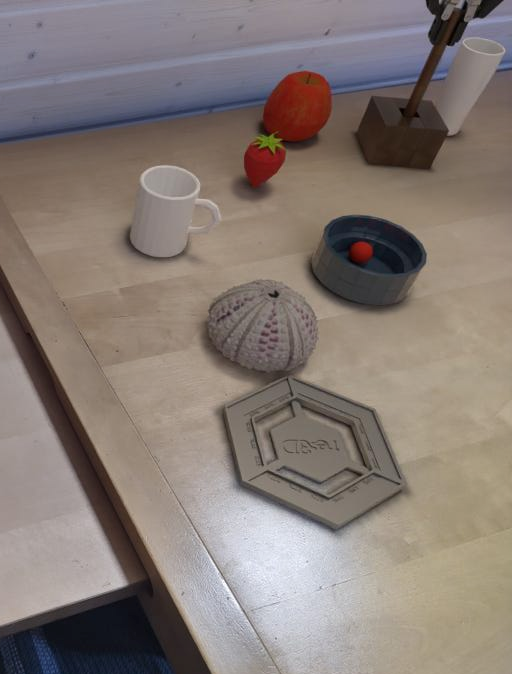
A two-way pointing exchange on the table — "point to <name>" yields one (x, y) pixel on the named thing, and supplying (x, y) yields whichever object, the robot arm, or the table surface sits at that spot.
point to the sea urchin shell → (263, 326)
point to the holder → (401, 133)
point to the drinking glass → (467, 80)
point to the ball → (360, 252)
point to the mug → (168, 211)
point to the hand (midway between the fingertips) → (441, 43)
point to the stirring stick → (431, 65)
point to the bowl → (377, 273)
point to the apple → (298, 106)
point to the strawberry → (263, 159)
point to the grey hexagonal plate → (312, 451)
